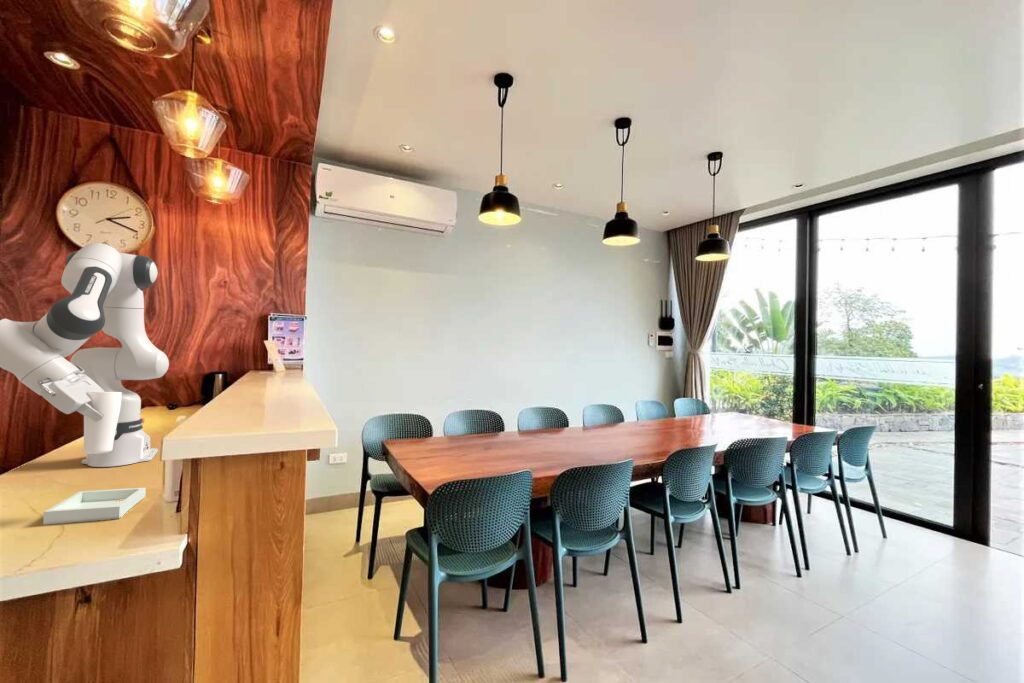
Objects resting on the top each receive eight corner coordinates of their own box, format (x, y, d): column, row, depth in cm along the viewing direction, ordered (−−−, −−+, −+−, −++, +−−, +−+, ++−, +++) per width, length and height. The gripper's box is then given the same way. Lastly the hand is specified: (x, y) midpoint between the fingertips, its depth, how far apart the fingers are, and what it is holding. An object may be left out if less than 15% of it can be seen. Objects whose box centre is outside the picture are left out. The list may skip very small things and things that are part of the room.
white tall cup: (115, 450, 113) (121, 392, 114) (117, 452, 108) (123, 391, 110) (78, 452, 108) (85, 392, 109) (78, 455, 103) (86, 391, 105)
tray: (79, 502, 113) (79, 491, 113) (145, 498, 118) (145, 487, 118) (43, 524, 100) (43, 511, 100) (119, 518, 105) (119, 506, 105)
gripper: (48, 371, 97) (105, 413, 101) (81, 365, 114) (128, 402, 119) (19, 392, 94) (78, 434, 99) (57, 382, 112) (105, 419, 117)
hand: (105, 416), depth 109 cm, fingers closed on white tall cup, 6 cm apart
